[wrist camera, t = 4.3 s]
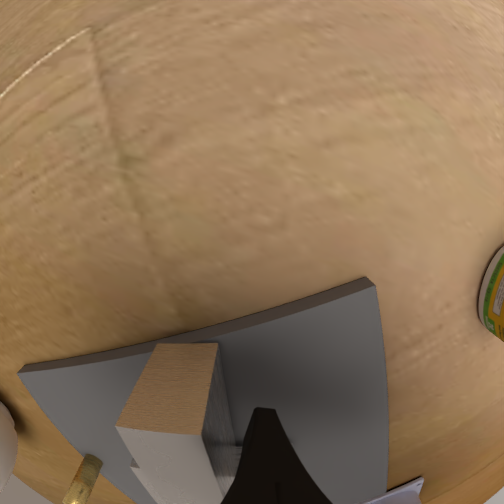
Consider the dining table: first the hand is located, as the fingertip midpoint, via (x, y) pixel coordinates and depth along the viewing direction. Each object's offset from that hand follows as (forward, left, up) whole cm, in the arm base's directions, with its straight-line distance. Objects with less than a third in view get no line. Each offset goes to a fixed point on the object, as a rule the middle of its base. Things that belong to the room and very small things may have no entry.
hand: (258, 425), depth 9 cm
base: (-7, +4, -3) cm, 9 cm away
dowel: (-5, +13, -3) cm, 15 cm away
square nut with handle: (-4, +4, -2) cm, 6 cm away
